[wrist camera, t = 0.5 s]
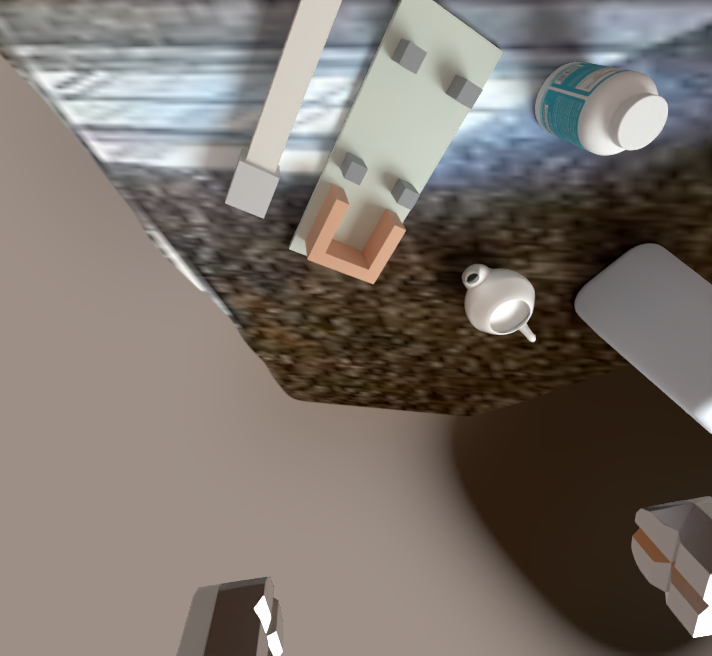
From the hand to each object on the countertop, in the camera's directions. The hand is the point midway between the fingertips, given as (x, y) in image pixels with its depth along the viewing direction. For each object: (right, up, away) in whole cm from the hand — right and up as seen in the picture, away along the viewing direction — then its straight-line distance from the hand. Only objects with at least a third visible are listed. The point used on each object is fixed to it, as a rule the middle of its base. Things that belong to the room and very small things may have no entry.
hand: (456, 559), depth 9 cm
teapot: (+17, +12, +54) cm, 58 cm away
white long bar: (-10, +30, +35) cm, 47 cm away
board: (+1, +25, +40) cm, 48 cm away
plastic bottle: (+42, +12, +60) cm, 74 cm away
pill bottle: (+22, +32, +39) cm, 55 cm away
